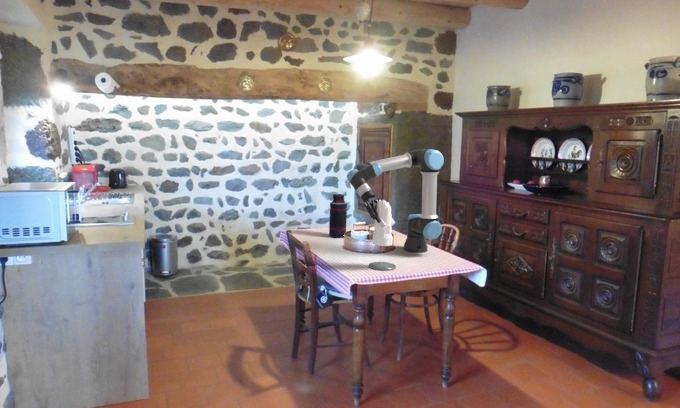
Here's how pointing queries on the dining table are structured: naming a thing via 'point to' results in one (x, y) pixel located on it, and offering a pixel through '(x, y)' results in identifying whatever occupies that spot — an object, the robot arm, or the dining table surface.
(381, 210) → the decorative vase
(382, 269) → the disc
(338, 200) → the black thermos flask
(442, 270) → the dining table surface
